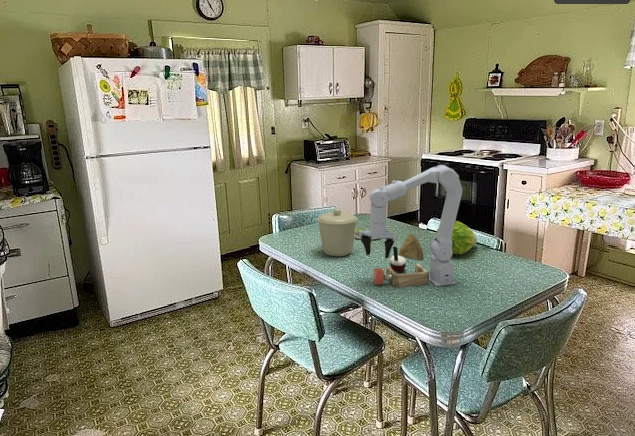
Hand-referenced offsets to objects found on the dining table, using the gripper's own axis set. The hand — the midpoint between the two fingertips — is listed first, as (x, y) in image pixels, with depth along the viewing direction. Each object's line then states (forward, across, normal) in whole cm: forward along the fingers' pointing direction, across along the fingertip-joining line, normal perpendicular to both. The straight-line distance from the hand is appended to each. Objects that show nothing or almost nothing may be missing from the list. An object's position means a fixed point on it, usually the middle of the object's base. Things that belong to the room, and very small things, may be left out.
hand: (377, 256), depth 174 cm
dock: (+10, -9, -6) cm, 15 cm away
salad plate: (+11, +27, -54) cm, 61 cm away
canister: (+11, +29, -23) cm, 38 cm away
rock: (+11, -3, -32) cm, 34 cm away
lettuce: (+11, -19, -48) cm, 53 cm away
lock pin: (+10, -4, 0) cm, 11 cm away
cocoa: (+11, -3, -14) cm, 18 cm away
